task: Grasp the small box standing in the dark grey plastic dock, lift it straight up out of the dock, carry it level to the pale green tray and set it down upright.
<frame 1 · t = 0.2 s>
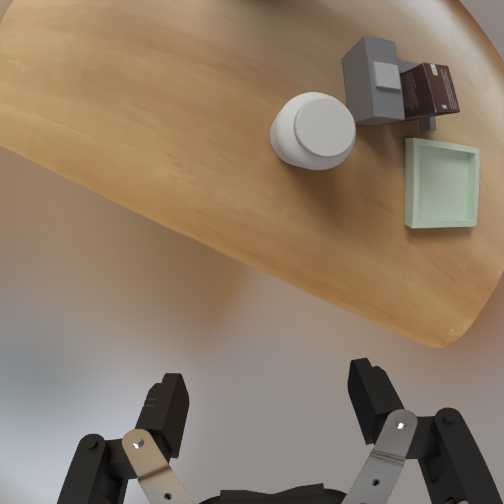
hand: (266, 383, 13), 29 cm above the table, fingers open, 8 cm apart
tray: (440, 183, 37), on the table
box: (395, 102, 34), on the table
pill bottle: (299, 137, 36), on the table
dock: (396, 101, 34), on the table
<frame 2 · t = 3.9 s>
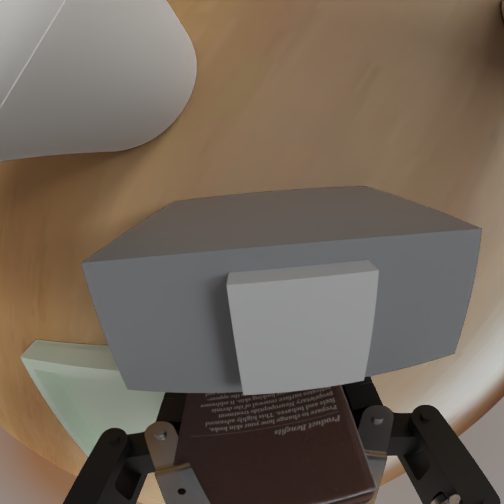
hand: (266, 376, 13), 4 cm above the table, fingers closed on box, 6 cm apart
tray: (126, 409, 20), on the table
box: (263, 327, 17), on the table, touching gripper
pill bottle: (128, 82, 13), on the table
dock: (263, 329, 17), on the table
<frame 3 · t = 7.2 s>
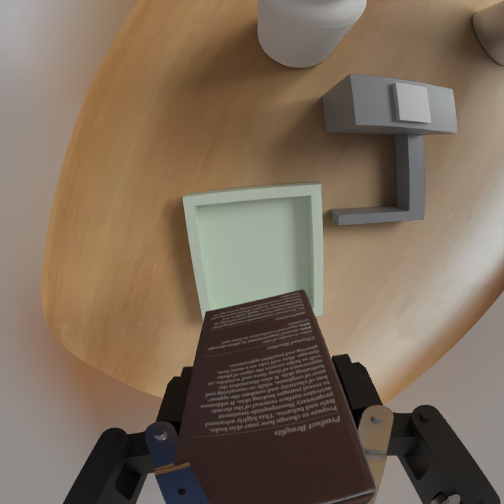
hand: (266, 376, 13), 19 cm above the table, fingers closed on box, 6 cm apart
tray: (257, 252, 31), on the table
box: (263, 328, 17), point 15 cm above the table, touching gripper
pill bottle: (294, 38, 24), on the table
dock: (364, 170, 28), on the table
when the fingers open (6 cm above the table, at t = 10.5 s): box stays where it is, resting on tray.
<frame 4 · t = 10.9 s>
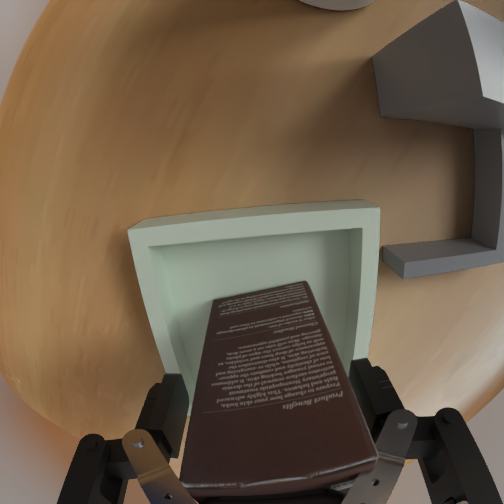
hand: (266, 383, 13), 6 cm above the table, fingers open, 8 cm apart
tray: (262, 315, 18), on the table
box: (267, 317, 18), resting on tray
dock: (435, 182, 16), on the table
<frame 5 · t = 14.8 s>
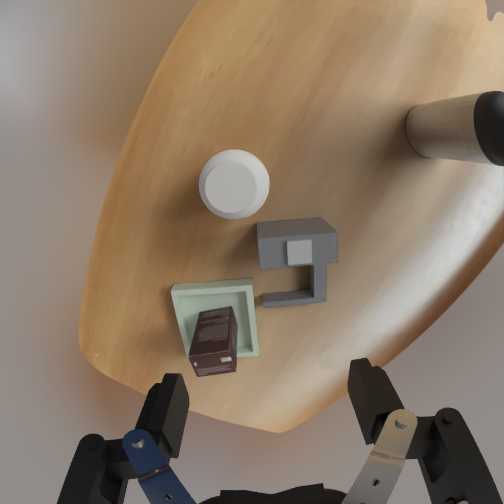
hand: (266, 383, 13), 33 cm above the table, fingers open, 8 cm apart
tray: (218, 317, 49), on the table
box: (219, 318, 49), resting on tray
pill bottle: (238, 177, 42), on the table
dock: (285, 269, 46), on the table
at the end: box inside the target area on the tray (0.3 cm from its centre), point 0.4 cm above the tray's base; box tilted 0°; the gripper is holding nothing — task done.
